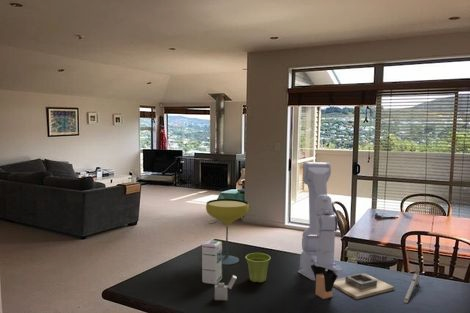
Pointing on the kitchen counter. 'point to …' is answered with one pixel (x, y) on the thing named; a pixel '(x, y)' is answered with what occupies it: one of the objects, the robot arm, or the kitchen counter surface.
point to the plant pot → (257, 266)
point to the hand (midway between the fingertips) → (324, 288)
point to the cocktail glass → (227, 218)
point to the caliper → (412, 285)
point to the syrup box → (212, 261)
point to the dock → (361, 285)
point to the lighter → (223, 289)
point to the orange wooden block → (322, 287)
